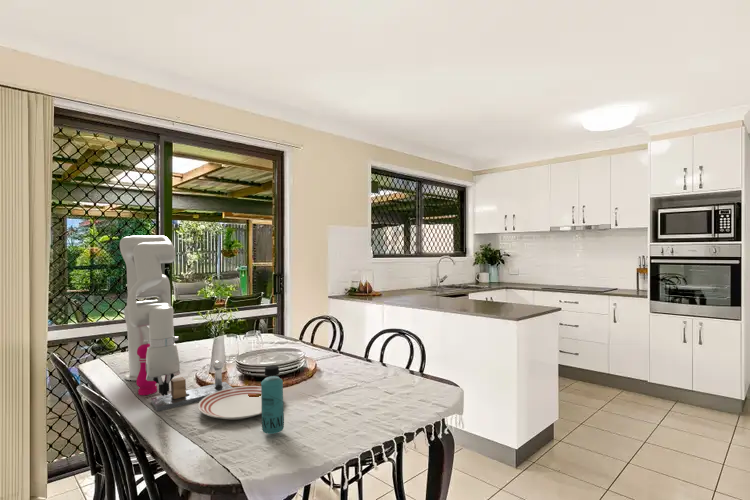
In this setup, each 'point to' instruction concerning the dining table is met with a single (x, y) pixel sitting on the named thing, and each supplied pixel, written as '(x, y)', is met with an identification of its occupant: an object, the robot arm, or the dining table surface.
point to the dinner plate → (232, 403)
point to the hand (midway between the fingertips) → (164, 394)
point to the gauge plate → (192, 392)
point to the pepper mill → (144, 372)
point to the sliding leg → (178, 387)
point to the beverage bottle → (272, 401)
